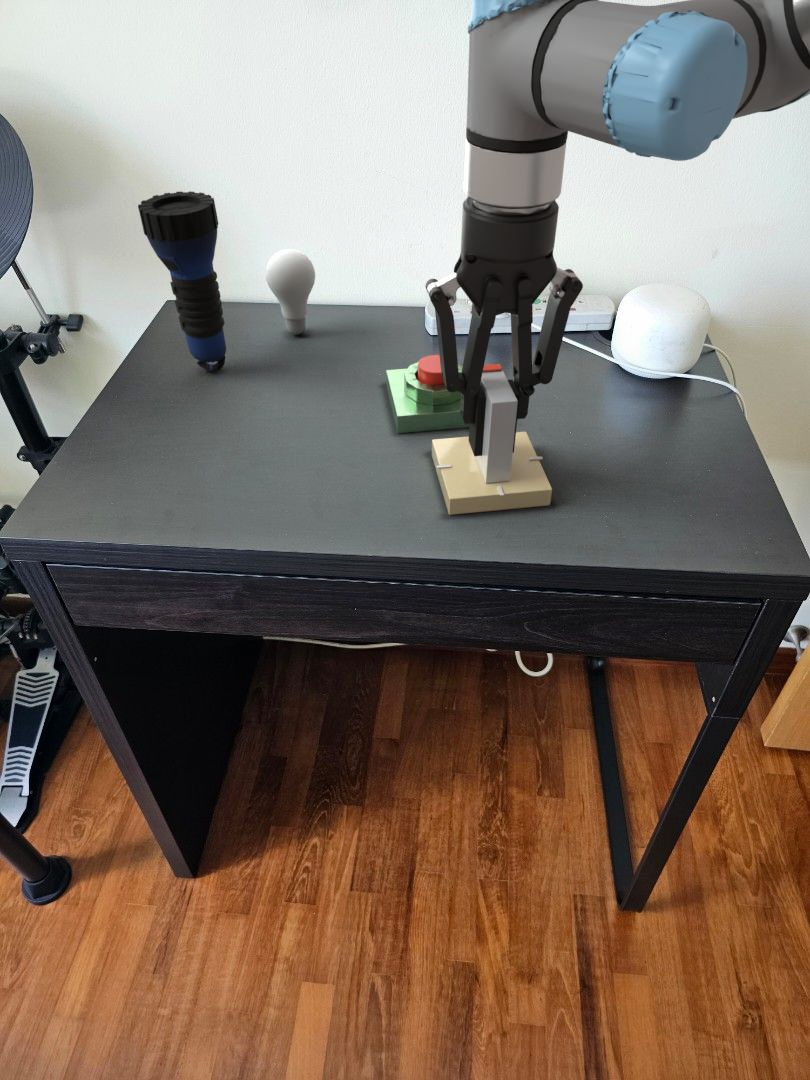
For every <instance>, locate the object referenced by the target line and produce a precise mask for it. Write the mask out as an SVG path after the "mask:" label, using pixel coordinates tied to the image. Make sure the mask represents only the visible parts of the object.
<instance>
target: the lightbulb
mask: <svg viewBox="0 0 810 1080" xmlns="http://www.w3.org/2000/svg"><path fill="white" fill-rule="evenodd" d="M265 280H266V283H267V285H268V287H269V289H270V290H271V292H272V294H273V295H274V297H275V298H276V300H277V302H278V303H279V306H280V309H281V314H282V317H283V318H284V323H285V328H286V329H285V330H286V331H287V332H288V333H290V334H293V335H294V336H296V335H297V336H298V335H300V334H301V333H303V332H305V330H306V329H307V328H306V327H307V326H306V315H307V312H308V311H307V310H308V309H307V308H308V300H309V297H310V294H311V292H312V290H313V288H314V285H315V282H316V270H315V267H314V264H313V262H312V261H311V259H310V258H309V257H308V256H307V255H306V254H305V253H304V252H302V251H300V250H298V249H293V248H286V249H285V248H284V249H281V250H278V251H277V252H275V253H274V254H273V255H272V256H271V257H270V259H269V260H268V262H267V263H266V268H265Z"/></svg>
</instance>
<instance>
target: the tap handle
mask: <svg viewBox="0 0 810 1080" xmlns="http://www.w3.org/2000/svg"><path fill="white" fill-rule="evenodd" d="M508 380H509V379H508V378H507V376H506V374H505V372H504V370H503V368H502V366H501V364H500V363H495V364H494V363H493V364H484V368H483V373H482V378H481V383H480V384H481V386H482V389H483V391H484V393H485V395H486V408H485V422H484V436H483V449H482V456H476V459H477V462H478V464H479V467H480V470H481V472H482V475H483V478H484V480H485V483H494V482H504V481H510V472H511V462H512V452H513V443H514V433H515V423H516V413H517V404H518V400H517V398H516V396H515V394H514V392H513V390H512V388H511V386H510V384H509V382H508Z"/></svg>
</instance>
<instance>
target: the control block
mask: <svg viewBox="0 0 810 1080" xmlns="http://www.w3.org/2000/svg"><path fill="white" fill-rule="evenodd" d="M418 362H419V361H417V362H415V363H412V364H410V365H408V367H407V368H398V369H386V370H385V383H386V384H385V385H386V390H387V395H388V399H389V403H390V407H391V412H392V416H393V420H394V424H395V428H396V432H397V434H407V433H418V432H429V431H430V432H431V431H441V430H454V429H465V428H469V424H465V423H464V421H463V418H462V416H461V413H460V403H461V392H458V391H456V392H449V391H448V390H447V388H446V386H445V385H435V386H433V385H428V384H423V383H422V382H420V381H419V380H418ZM462 367H463V363H462V364H458V372H460V373H461V372H462Z"/></svg>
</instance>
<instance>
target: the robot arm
mask: <svg viewBox="0 0 810 1080" xmlns="http://www.w3.org/2000/svg"><path fill="white" fill-rule="evenodd" d="M470 7H471V8H470V16H469V24H468V25H467V33H468V35H469V40H468V65H467V66H468V69H467V97H466V98H467V99H466V100H467V101H466V124H465V125H466V129H465V130H466V131H465V155H464V173H463V174H464V175H463V192H464V194H465V195H466V196H467V197H466V198H465V199H464V201H463V203H462V213H461V214H462V216H461V237H460V242H461V243H460V254H459V256H458V259H457V261H456V262H455V264H454V267H453V272H452V273H450V274H449V275H447V276H445V277H443V278H441V279H440V280H438V279H436V278H430V279H428V280H427V281H426V283H425V290H426V292H427V295H428V297H429V300H430V302H431V304H432V306H433V308H434V311H435V312H434V315H435V324H436V332H437V333H436V334H437V344H438V352H439V354H438V355H440V364H441V374H442V377H443V380H444V383H445V386H446V388H447V390H448V391H449V392H456V391H458V392H461V403H460V413H461V416H462V418H463V421H464V423H465V424H469V427H468V436H469V440H468V441H469V443H470V446H471V449H472V451H473V454H474V456H482V449H483V436H484V422H485V408H486V395H485V393H484V391H483V389H482V386H481V384H480V383H481V378H482V373H483V368H484V365H485V363H486V357H487V353H488V352H487V351H488V348H489V341H490V338H491V333H492V329H493V328H494V327H495V323H496V319H497V316H500V315H502V314H510V332H511V334H510V335H511V356H512V357H511V358H512V376H513V379H507V380H508V382H509V384H510V386H511V388H512V390H513V392H514V394H515V396H516V398H517V400H518V404H517V413H516V423H515V433H514V443H513V452H512V453H514V446H515V437H516V432H517V427H518V420H522V419H524V420H525V419H526V417H527V415H528V412H529V404H530V397H531V396H532V395H534V393H535V390H536V389H535V386H537V385H539V384H542V385H548V384H550V382H552V380H553V377H554V374H555V369H556V365H557V361H558V358H559V355H560V351H561V346H562V342H563V338H564V335H565V332H566V327H567V324H568V319H569V315H570V311H571V308H572V307H573V305H574V303H575V302H576V300H577V298H578V297H579V295H580V294H581V292H582V291H583V288H584V284H583V282H582V281H581V280H580V278H579V277H578V275H577V274H576V273H575V272H574V271H573V269H571V268H566V269H562V268H559V266H558V265H557V261H556V260H555V258H554V249H555V242H556V236H557V234H556V233H557V227H558V218H559V210H560V207H559V204H558V202H557V201H556V200H557V199H558V198H559V197H560V195H561V193H562V188H563V178H564V169H565V159H566V150H567V149H566V148H567V140H568V135H569V132H570V133H573V134H575V135H579V136H583V137H586V138H589V139H592V140H595V141H597V142H602V143H604V144H608V145H611V146H615V147H617V148H620V149H624V150H625V151H626V152H628V153H630V154H635V155H636V156H638V157H644V158H651V157H654V158H660V159H665V160H670V161H674V162H675V161H676V162H684V161H689V160H693V159H695V158H698V157H699V156H701V155H703V154H704V153H706V152H707V151H708V149H709V148H710V146H711V145H712V143H713V142H714V141H715V140H718V139H720V138H721V137H722V135H724V133H725V132H726V131H727V129H728V128H729V126H730V124H731V123H732V120H734V119H738V118H742V117H746V116H749V115H753V114H758V113H769V112H773V111H777V110H779V109H781V108H784V107H786V106H789V105H791V104H794V103H796V102H798V101H800V100H801V99H803V98H805V97H807V96H809V95H810V0H682V1H675V2H668V3H661V4H656V5H640V4H639V5H637V4H629V3H621V2H612V1H606V0H605V1H604V0H471V5H470ZM547 287H548V288H549V292H550V293H549V295H548V298H547V303H546V306H545V312H544V315H543V321H542V324H541V328H540V332H539V336H538V340H537V344H536V348H535V349H536V350H535V354H534V357H533V344H532V341H533V339H532V338H533V337H532V336H533V335H532V324H533V321H534V317H533V315H534V313H533V304H534V303H535V302H536V300H537V299H538V298H539V297H540V296H541V294H542V293H544V291H545V290H546V288H547ZM459 289H462V291H463V292H464V294H465V296H466V297H467V298H468V299H469V300H470V302H471V311H470V312H471V318H470V323H469V328H468V334H467V340H466V345H465V350H464V355H463V362H462V364H463V367H462V372H461V373H460V372H458V365H459V360H458V350H457V338H456V337H457V336H456V327H455V325H456V324H455V316H454V312H453V309H452V306H454V305H455V304H456V302H457V299H458V298H457V292H458V290H459Z"/></svg>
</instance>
